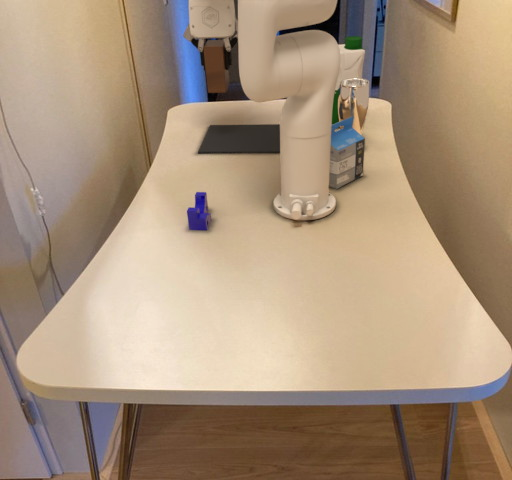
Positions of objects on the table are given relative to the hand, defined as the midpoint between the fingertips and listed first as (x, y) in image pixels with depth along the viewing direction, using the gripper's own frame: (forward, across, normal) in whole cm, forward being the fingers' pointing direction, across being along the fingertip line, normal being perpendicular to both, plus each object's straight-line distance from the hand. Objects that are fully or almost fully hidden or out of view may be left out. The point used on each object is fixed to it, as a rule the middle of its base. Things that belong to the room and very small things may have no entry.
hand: (217, 67), depth 130 cm
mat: (+17, +6, 0) cm, 18 cm away
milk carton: (+17, +30, +11) cm, 36 cm away
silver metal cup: (+17, +32, -6) cm, 37 cm away
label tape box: (+17, +30, -24) cm, 42 cm away
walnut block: (+5, 0, 0) cm, 5 cm away
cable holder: (+17, +2, -42) cm, 46 cm away
